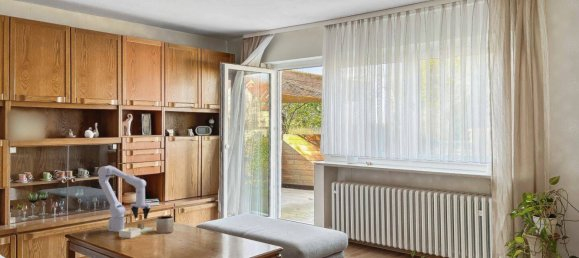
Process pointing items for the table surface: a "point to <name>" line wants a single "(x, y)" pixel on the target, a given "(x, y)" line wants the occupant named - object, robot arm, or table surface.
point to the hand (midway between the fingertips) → (140, 218)
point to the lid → (143, 229)
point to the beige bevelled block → (130, 233)
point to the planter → (164, 224)
